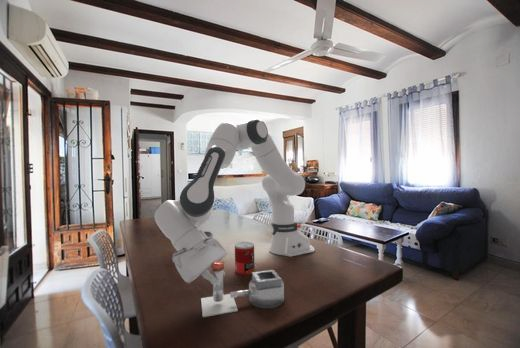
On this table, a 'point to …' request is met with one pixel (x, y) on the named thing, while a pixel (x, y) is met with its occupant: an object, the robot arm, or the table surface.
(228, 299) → the rubber mat
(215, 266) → the red capped grey cylinder
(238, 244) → the canned food
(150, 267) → the table surface
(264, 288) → the square socket stand
